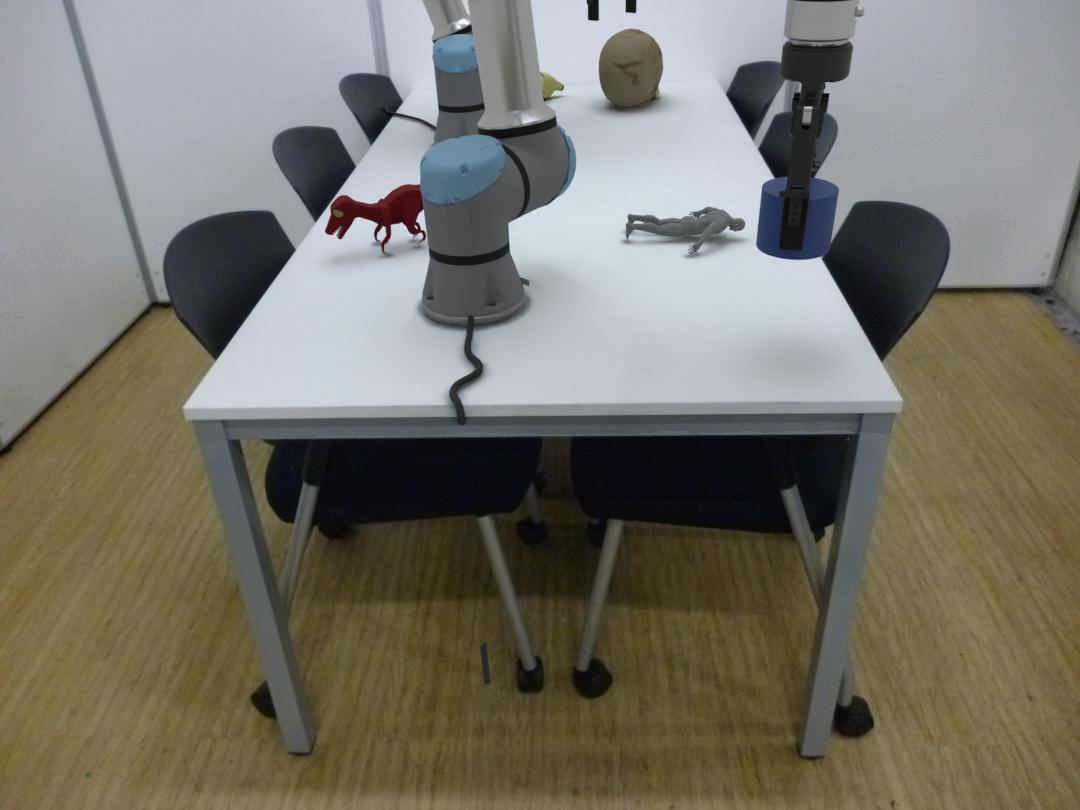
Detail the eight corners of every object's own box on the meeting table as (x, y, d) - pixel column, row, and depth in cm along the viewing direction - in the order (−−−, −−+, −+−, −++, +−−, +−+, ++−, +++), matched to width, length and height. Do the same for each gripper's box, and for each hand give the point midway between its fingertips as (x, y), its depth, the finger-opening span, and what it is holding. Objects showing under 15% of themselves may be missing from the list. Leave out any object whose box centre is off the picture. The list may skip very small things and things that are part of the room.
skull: (675, 78, 236) (665, 6, 214) (657, 140, 229) (644, 72, 207) (621, 76, 242) (606, 5, 220) (601, 136, 235) (583, 70, 212)
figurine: (623, 257, 139) (747, 254, 135) (622, 233, 136) (748, 229, 133) (630, 222, 152) (742, 218, 149) (629, 199, 150) (743, 194, 147)
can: (801, 266, 100) (810, 205, 96) (741, 246, 106) (746, 188, 101) (844, 245, 104) (853, 186, 100) (784, 228, 110) (791, 171, 106)
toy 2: (504, 74, 236) (552, 64, 240) (507, 99, 240) (555, 88, 244) (520, 83, 226) (571, 71, 229) (524, 109, 230) (573, 97, 233)
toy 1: (375, 272, 150) (311, 216, 141) (474, 171, 147) (415, 108, 138) (383, 287, 144) (317, 230, 135) (486, 183, 141) (426, 118, 132)
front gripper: (852, 59, 82) (820, 271, 94) (855, 25, 100) (828, 207, 112) (774, 58, 85) (752, 265, 97) (790, 24, 102) (770, 204, 114)
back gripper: (588, -86, 175) (589, 25, 186) (661, -92, 189) (657, 10, 201) (562, -85, 179) (564, 22, 191) (635, -92, 194) (633, 8, 205)
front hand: (793, 234), depth 104 cm, fingers closed on can, 9 cm apart
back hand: (612, 16), depth 196 cm, fingers open, 13 cm apart
